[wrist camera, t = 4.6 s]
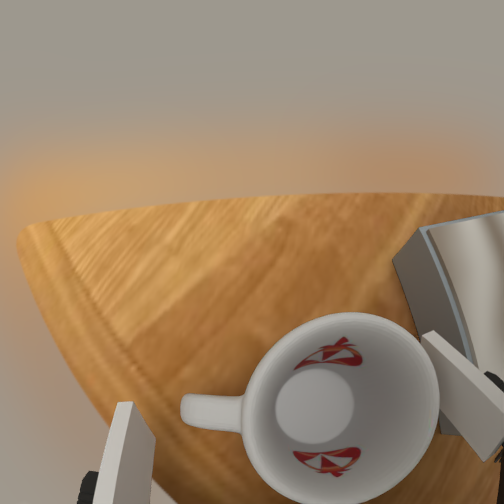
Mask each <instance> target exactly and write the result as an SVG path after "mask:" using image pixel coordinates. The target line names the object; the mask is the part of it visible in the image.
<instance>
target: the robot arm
mask: <svg viewBox="0 0 504 504" xmlns="http://www.w3.org/2000/svg"><path fill="white" fill-rule="evenodd" d="M420 344H421V345H422V347H423V348H424V349H425V351H426V353H427V354H428V356H429V358H430V360H431V362H432V364H433V366H434V369H435V372H436V375H437V379H438V384H439V391H440V409H441V411H442V412H443V413H444V414H445V415H446V417H447V418H448V419H449V420H450V421H451V423H452V424H453V425H454V426H455V427H456V429H457V430H458V431H459V432H460V434H461V435H462V436H463V437H464V438H465V440H466V441H467V442H468V443H469V445H470V446H471V447H472V448H473V450H474V451H475V452H476V453H477V455H478V456H479V457H480V459H481V460H482V461H483V462H485V461H486V460H487V459H489V458H490V457H491V456H492V455H493V454H495V453H496V451H497V450H498V449H499V447H500V446H501V445H502V446H503V449H502V450H501V451H500V453H499V454H498V455H497V457H496V458H495V461H494V463H496V462H497V461H498V460H499V458H500V457H501V459H500V461H499V462H501V470H500V481H499V490H498V497H497V503H496V504H504V382H503V380H502V379H500V378H499V377H498V376H497V375H496V374H493V373H491V372H489V371H486V372H485V373H482V372H481V371H480V370H479V369H478V368H476V367H475V366H474V365H473V364H472V363H471V362H470V361H469V360H468V359H466V358H465V357H464V356H463V355H462V354H461V353H460V352H458V351H457V350H456V349H455V348H454V347H453V346H451V345H450V344H449V343H448V342H447V341H446V340H444V339H443V338H442V337H441V336H440V335H439V334H437V333H436V332H435V331H434V330H433V331H431V332H428V333H426V334H424V335H422V337H421V343H420ZM155 442H156V438H155V436H154V435H153V433H152V432H151V430H150V428H149V427H148V425H147V424H146V422H145V420H144V419H143V417H142V415H141V414H140V412H139V410H138V409H137V407H136V405H135V404H134V402H133V401H132V402H118V403H117V407H116V410H115V413H114V417H113V420H112V424H111V428H110V431H109V435H108V439H107V443H106V447H105V450H104V454H103V459H102V462H101V467H100V471H99V472H94V471H89V472H88V473H87V474H86V476H85V477H84V479H83V480H82V484H81V488H80V493H79V496H78V501H77V504H150V492H151V480H152V470H153V460H154V451H155Z"/></svg>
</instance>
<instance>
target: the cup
mask: <svg viewBox="0 0 504 504" xmlns="http://www.w3.org/2000/svg"><path fill="white" fill-rule="evenodd" d="M439 408H440V391H439V384H438V379H437V375H436V372H435V369H434V366H433V364H432V362H431V360H430V358H429V356H428V354H427V353H426V351H425V349H424V348H423V347H422V345H421V344H420V343H419V342H418V341H417V340H416V339H415V337H414V336H412V335H411V334H410V333H409V332H408V331H407V330H405V329H404V328H402V327H401V326H399V325H398V324H396V323H394V322H392V321H390V320H388V319H385V318H382V317H379V316H376V315H372V314H367V313H359V312H345V313H336V314H330V315H326V316H323V317H319V318H316V319H314V320H311V321H309V322H307V323H304V324H302V325H301V326H299V327H297V328H295V329H294V330H292V331H291V332H289V333H288V334H286V335H285V336H284V337H283V338H281V339H280V340H279V341H278V342H277V343H276V344H275V345H274V346H273V347H272V348H271V349H270V350H269V351H268V352H267V353H266V354H265V356H264V357H263V358H262V360H261V361H260V362H259V364H258V365H257V367H256V369H255V371H254V372H253V374H252V376H251V378H250V381H249V383H248V385H247V388H246V391H245V394H244V395H242V396H216V395H204V394H193V393H188V394H186V395H184V396H183V398H182V400H181V406H180V412H181V418H182V420H183V421H184V422H185V423H186V424H188V425H191V426H195V427H199V428H204V429H211V430H220V431H231V432H237V433H239V434H241V435H242V438H243V443H244V447H245V450H246V452H247V455H248V457H249V459H250V461H251V463H252V465H253V467H254V468H255V470H256V471H257V473H258V474H259V475H260V476H261V477H262V479H263V480H264V481H265V482H266V483H267V484H268V485H269V486H270V487H272V488H273V489H274V490H276V491H277V492H278V493H280V494H282V495H283V496H285V497H287V498H289V499H291V500H294V501H296V502H299V503H302V504H359V503H362V502H365V501H368V500H370V499H373V498H375V497H377V496H379V495H381V494H383V493H385V492H386V491H388V490H390V489H391V488H393V487H394V486H395V485H397V484H398V483H399V482H400V481H402V480H403V479H404V478H405V477H406V476H407V475H408V474H409V473H410V472H411V471H412V470H413V469H414V467H415V466H416V465H417V464H418V462H419V461H420V460H421V458H422V457H423V455H424V453H425V452H426V450H427V448H428V446H429V444H430V442H431V440H432V438H433V435H434V432H435V429H436V425H437V421H438V416H439Z"/></svg>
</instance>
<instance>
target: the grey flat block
mask: <svg viewBox="0 0 504 504" xmlns="http://www.w3.org/2000/svg"><path fill="white" fill-rule="evenodd" d="M392 261H393V264H394V266H395V269H396V271H397V274H398V277H399V279H400V282H401V285H402V287H403V290H404V293H405V296H406V298H407V301H408V304H409V307H410V310H411V313H412V316H413V319H414V322H415V325H416V329H417V332H418V335H419V338H420V342H421V337H422V335H424V334H426V333H428V332H431V331H433V330H434V331H435V332H436V333H437V334H439V335H440V336H441V337H442V338H443V339H444V340H446V341H447V342H448V343H449V344H450V345H451V346H453V347H454V348H455V349H456V350H457V351H458V352H460V353H461V354H462V355H463V356H464V357H465V358H466V359H468V360H469V361H470V362H471V363H472V364H473V365H474V366H475V367H476V368H478V369H479V370H480V371H481V372H482V373H485V372H486V371H489V372H491V373H493V374H496V375H497V376H498V377H499V378H500V379H502V380H503V382H504V210H503V211H498V212H493V213H488V214H483V215H479V216H474V217H469V218H464V219H459V220H454V221H449V222H444V223H439V224H434V225H429V226H424V227H419V228H418V229H417V230H416V232H415V233H414V234H413V235H412V237H411V238H410V239H409V240H408V241H407V243H406V244H405V245H404V246H403V247H402V249H401V250H400V251H399V252H398V253H397V254H396V256H395V257H394V258H393V259H392ZM438 417H439V423H440V429H441V434H447V435H459V436H462V435H461V434H460V432H459V431H458V430H457V429H456V427H455V426H454V425H453V424H452V423H451V421H450V420H449V419H448V418H447V417H446V415H445V414H444V413H443V412H442V411H441V409H440V408H439V416H438Z"/></svg>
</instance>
